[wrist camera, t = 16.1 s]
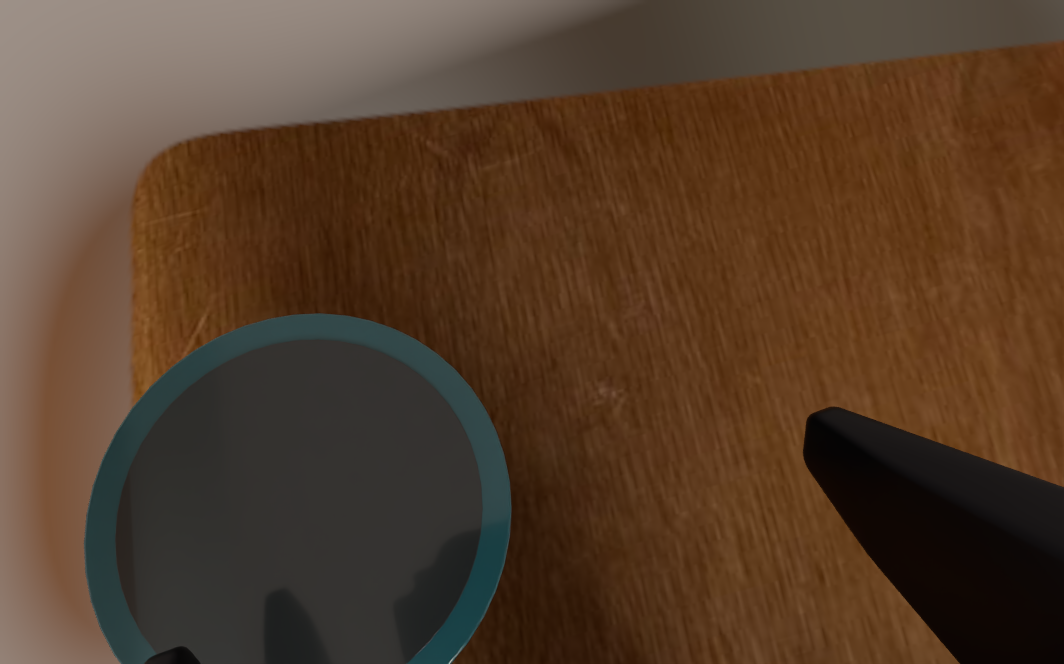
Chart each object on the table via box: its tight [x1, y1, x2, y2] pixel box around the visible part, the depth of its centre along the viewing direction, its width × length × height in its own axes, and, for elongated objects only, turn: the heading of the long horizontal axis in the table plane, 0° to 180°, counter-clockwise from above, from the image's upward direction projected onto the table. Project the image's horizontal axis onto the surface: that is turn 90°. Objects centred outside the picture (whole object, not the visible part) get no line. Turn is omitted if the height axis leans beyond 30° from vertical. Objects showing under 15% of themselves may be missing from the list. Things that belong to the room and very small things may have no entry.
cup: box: [84, 313, 512, 664], centre depth 15 cm, size 7×7×10 cm
